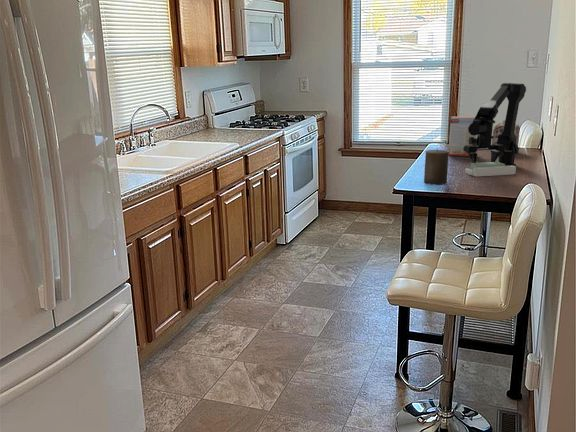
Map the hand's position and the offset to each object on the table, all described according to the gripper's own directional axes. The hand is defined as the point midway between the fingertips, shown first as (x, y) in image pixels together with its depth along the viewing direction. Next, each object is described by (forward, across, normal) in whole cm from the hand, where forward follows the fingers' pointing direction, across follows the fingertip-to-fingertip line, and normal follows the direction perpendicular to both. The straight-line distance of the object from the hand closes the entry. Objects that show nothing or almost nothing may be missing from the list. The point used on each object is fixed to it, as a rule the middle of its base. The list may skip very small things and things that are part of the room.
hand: (482, 166), depth 270 cm
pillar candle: (+2, +33, +18) cm, 37 cm away
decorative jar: (+2, -37, -40) cm, 54 cm away
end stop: (+2, 0, +7) cm, 7 cm away
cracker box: (+2, -11, -40) cm, 41 cm away
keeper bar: (+2, 0, +4) cm, 5 cm away
